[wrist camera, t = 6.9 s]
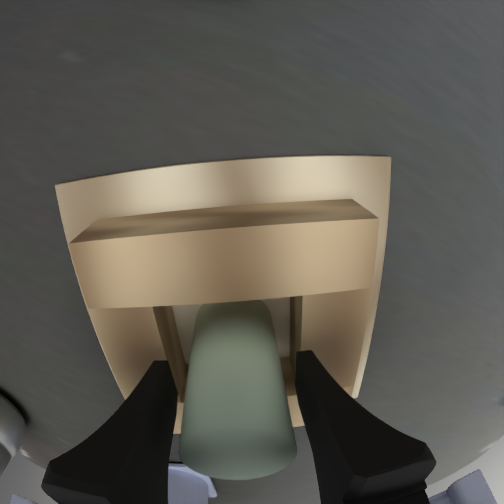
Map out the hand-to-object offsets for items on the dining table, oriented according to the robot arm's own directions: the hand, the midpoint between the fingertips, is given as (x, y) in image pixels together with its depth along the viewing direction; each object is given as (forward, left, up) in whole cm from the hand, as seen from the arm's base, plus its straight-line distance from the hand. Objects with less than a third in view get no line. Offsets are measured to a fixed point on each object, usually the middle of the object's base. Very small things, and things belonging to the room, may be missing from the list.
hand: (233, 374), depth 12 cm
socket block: (0, 0, -4) cm, 4 cm away
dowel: (0, 0, -4) cm, 4 cm away
